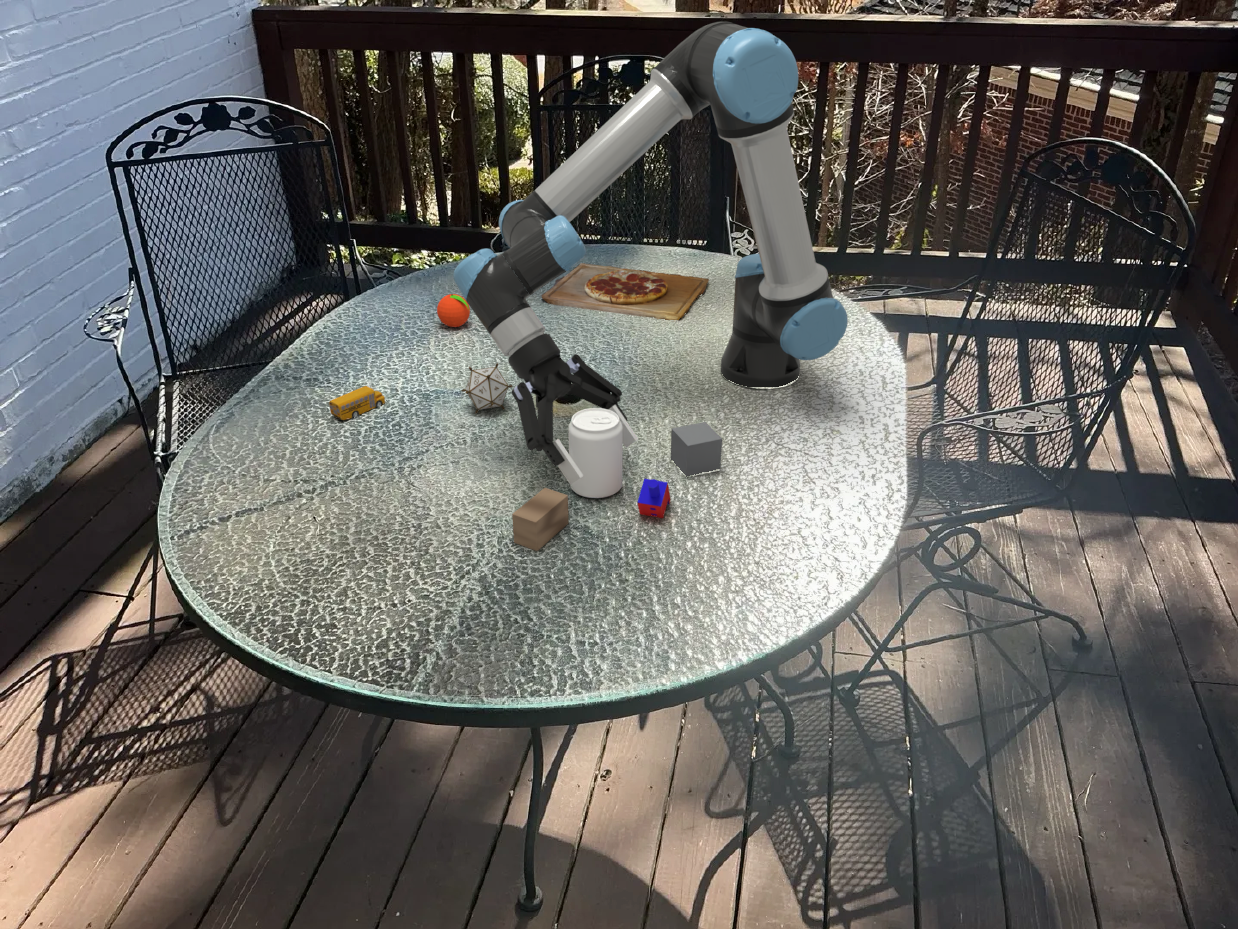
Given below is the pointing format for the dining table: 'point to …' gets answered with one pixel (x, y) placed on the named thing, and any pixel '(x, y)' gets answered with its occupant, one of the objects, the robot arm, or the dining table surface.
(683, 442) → the grey cube
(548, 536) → the walnut brick
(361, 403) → the toy bus
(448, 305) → the clementine
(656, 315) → the pizza
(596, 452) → the beverage can
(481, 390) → the game die
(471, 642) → the dining table surface
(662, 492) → the toy building block
